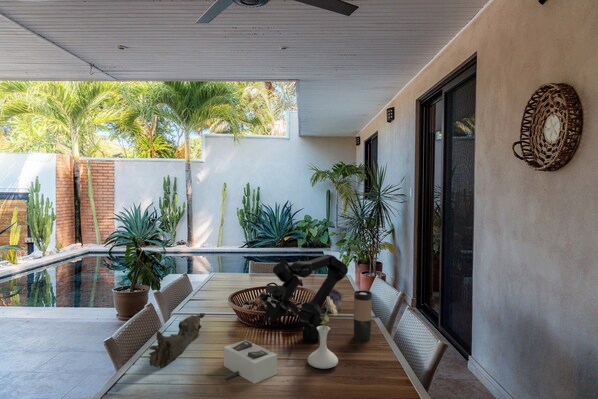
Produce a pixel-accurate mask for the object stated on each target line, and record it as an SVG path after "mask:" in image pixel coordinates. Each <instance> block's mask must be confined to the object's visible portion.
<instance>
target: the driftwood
mask: <svg viewBox="0 0 598 399" xmlns="http://www.w3.org/2000/svg"><path fill="white" fill-rule="evenodd" d="M205 316H206V313H205V312H202V313H201V312H200V313H199V314H197V315H190V316H189V317H185V318H184V319H182V320H181V321H179V323H178V326H177V327H178V329H179V330H178V333H177V334H176V333H175V334H174V333H172V334H170V335H169V336H165V335H163V333H161V332H160V331H159V330H156V335H155V336H156V341H157V342H156V343H157V344H156V345H151V346H149V350H151V352H148V355H150V356H149V361H148V362H149V365H150V367H154V368H158V367H159V369H162V368H164V367H167V366H168V365H169V364H171V363H172V362H173V361H175V360H176V359H177V358H178V357H179V356H180V355H182V354H183V353H184V352H185V350H186V348H187V347H188V346H189V345H190V344H191V343H192V342H193V341H195V340H196V339H198V338H199V336H200V333H199V331H200V329H201V328H203V326H202V325H201V323H200V322H201V320H202V319H203V318H204V317H205Z"/></svg>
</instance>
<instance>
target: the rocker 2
mask: <svg viewBox="0 0 598 399" xmlns="http://www.w3.org/2000/svg"><path fill="white" fill-rule="evenodd" d="M265 355H268V354H266V353H264V352H262V351H256V352H248V356H250V357H252V358H260V357H262V356H265Z"/></svg>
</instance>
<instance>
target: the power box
mask: <svg viewBox="0 0 598 399" xmlns="http://www.w3.org/2000/svg"><path fill="white" fill-rule="evenodd" d="M244 341H248V342H250V343H252V346H251V347H249V348H247V349H244V350H241V351H236V350H234V349H233V348H234V347H235V346H237V345H239V344H241V343H242V342H244ZM256 351H262V352H264V353H266V354H268V355H265V356H262V357H260V358H252V357H250V356H248V352H256ZM223 367H225V368H227V369H228V370H230V371H232V373H229V374H226V375H225V379H226V380H228V379H229V380H230V379H231V378H233V377H236V376H238V375H239V376H240V377H242V378H244V379H245V380H246V381H248V382H250V383H252V384H257V383H259V382H262V381H264V380H266V379H269V378H271V377H274V376H276V375H277V373H278V371H277V370H278V354H277V353H275V352H273V351H270V350H268V349H266V348H264V347H262V346H259V345H257V344H256V343H253V342H251V341H249V340H247V339H245V340H242V341H238V342H234V343H232V344H229V345H226V346H224V347H223Z"/></svg>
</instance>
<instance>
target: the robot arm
mask: <svg viewBox="0 0 598 399" xmlns="http://www.w3.org/2000/svg"><path fill="white" fill-rule="evenodd" d="M325 267H326V269H327V270H326V272H327V276H326V278H325V279H324V281H323V283H322V284H321V285H320V287H319V289H318V291H317V292H316V293H315V295H314V296H313V298H312V300H311V301H310V302H306V301H305V302H304V303H303V305H302V306H301V307H300V308H299V307H298V305H297V304H296V303H295V301H291V299H293V298H294V297H295V295H294V294H295V292H296V291H297V289H298V287H303V286H304V284H303V280H302V279H300V278H308V277H309V276H311V275H312V274H313V272H314V271H316V270H319V269H322V268H325ZM348 272H349V268H348V265H347V264H345V263H344V262H343V261H341V260H339V259H338V258H337V257H336V256H335V255H332V254H323V255H322V256H319V257H316V258H314V259H310V260H308V261H307V260H306V261H301V260H300V261H294V262H293V263H292V264H290V265H289V263H288V262H287V260H281V262H279V263H276V265H274V266H273V268H272V273H273V274H274V275H275V276H276V277H277V279H278V280H279V281H280V282H282V284H281V285H278V286H275V285H271V284H267V286H266V289H265V292H261V293H260V294H259V296H258V299H260V300H261V301H262V302H263V304H265V306H266V307H265V308H266V309H265V312H264V313H265V314H264V316H263V321H264V322H265V323H266V322H267V321H268V323H269V324H272V323H273V322H275V321H277V320H279V319H280V318H282V317H284V316H286V315H289V313H288V312H289V310H290V314H291V315H294V316H297V315H298V317H299V321H300V324H301V325H303V328H302V339H303V343H320V334H319V331H318V330H317V327H318V326H323V324H320V323H321V322H322V321H323V319H322V318H321V313H322V310H321V309H322V307H323V306H324V302H325V300H326V299H327V296H329V294H330V292H331V291H332V289H334V288H335V286H336V284H337V283H338V282H340V281H342V280H344V279H345V277H346V276H347V274H348ZM299 277H300V278H299Z"/></svg>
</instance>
